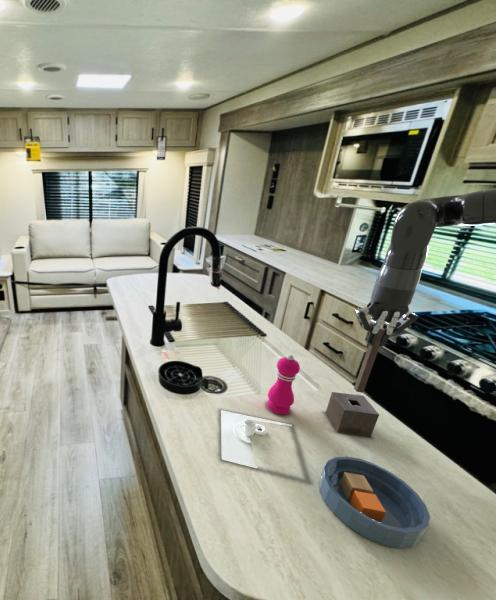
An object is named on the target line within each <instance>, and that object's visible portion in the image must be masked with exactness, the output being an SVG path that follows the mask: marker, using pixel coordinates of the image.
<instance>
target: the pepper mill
mask: <svg viewBox="0 0 496 600" xmlns="http://www.w3.org/2000/svg"><path fill="white" fill-rule="evenodd" d="M276 368H277V371H276V377H277V378H276V381H275V383H274V384H273V385H272V386H271V387H270V388H269V389H268V393H267V398H268V400H267V406H266V407H267V408H268V409H269V410H270V411H271V412H273V413H275V414H277V415H280V416H281V415H282V416H285V415H288V414H289V413H290V411H291V406H292V405H294V403H295V394H294V391H293V382H294V381H295V380H296V377H297V375H298V374H299V372H300V370H301V366H300V362H298V361H297V360H296V359H295V356H294V355H293V354H291V353H290V354H287V356H286V357H285V356H284V357H281V358H279V359H278V360H277V363H276Z"/></svg>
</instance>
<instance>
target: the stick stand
mask: <svg viewBox="0 0 496 600" xmlns="http://www.w3.org/2000/svg"><path fill="white" fill-rule="evenodd" d="M325 414H326V415H327V417H328V419H329V421H330V422H331V424H332V426H333V427H334V428H335V430H336V432H337V433H342V434H348V435H355V436H362V437H369V438H371V437H372V434H373V432H374V430H375V427H376V424H377V422H378V420H379V417H380V414H379V412H378V411H377V410H376V409H375V407H374V406H373V405H372V404H371V402H369V400H368V399H367V398H366V397H365V396H364V395H361V394H353V393H344V392H335V391H331V394H330V397H329V400H328V403H327V406H326V410H325Z"/></svg>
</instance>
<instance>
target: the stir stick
mask: <svg viewBox="0 0 496 600" xmlns="http://www.w3.org/2000/svg"><path fill="white" fill-rule="evenodd" d="M384 333H385V329H384V328H382V326H380V328H379V330H378V333H377V334H378V335H377V338H376V340H375V343H374V346H370V345H367V349H366V351H365V354H364V358H363V361H362V363H361V367H360V370H359V373H358V375H357V379H356V382H355V384H354V387H353V390H354V391H355V392H356V393H362V394H363V393H364V391H365V389H366V386H367V384H368V380H369V377H370V374H371V372H372V369H373V366H374V363H375V361H376V359H377V355H378V352H379V350H380V348H381V347H380V344H381V341H382V338H383V335H384Z"/></svg>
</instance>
